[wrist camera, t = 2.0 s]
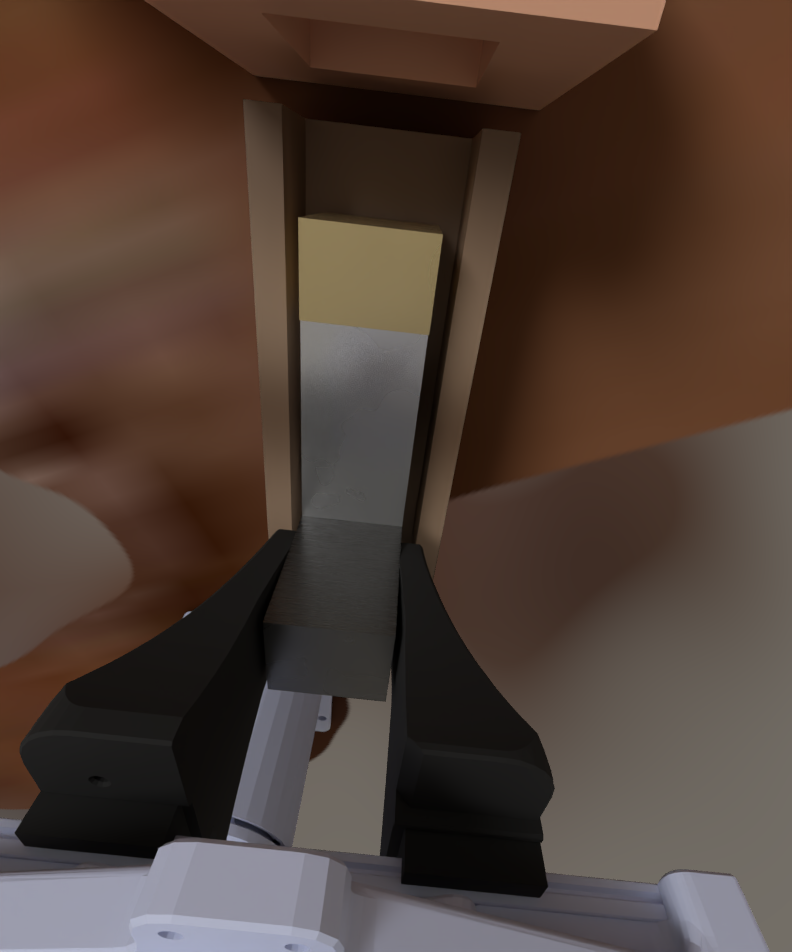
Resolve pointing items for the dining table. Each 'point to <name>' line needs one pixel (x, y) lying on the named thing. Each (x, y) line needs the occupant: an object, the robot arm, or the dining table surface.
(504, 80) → the tan square block
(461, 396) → the guide channel
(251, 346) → the dining table surface
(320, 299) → the slide bar
